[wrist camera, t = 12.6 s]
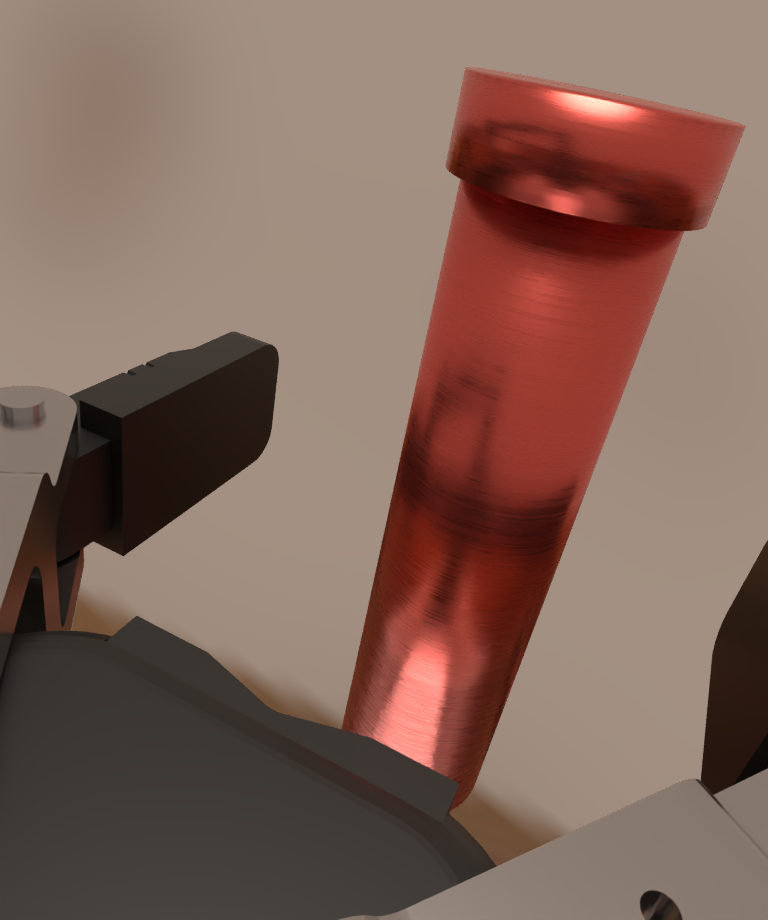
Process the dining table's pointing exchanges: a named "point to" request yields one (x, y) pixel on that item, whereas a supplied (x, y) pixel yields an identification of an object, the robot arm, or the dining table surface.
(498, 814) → the dining table surface
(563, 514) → the lever
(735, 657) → the robot arm
